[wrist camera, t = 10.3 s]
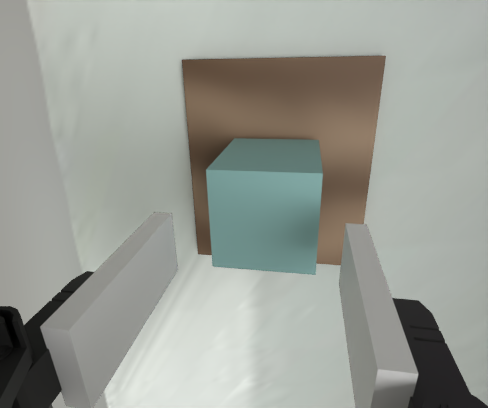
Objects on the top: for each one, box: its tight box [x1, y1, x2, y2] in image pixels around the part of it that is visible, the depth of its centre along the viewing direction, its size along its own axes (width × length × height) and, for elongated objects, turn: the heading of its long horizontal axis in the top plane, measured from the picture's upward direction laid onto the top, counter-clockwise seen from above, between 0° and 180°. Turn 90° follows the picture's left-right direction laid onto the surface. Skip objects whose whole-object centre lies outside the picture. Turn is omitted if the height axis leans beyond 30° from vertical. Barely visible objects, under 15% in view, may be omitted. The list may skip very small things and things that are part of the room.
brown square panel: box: [182, 56, 386, 265], centre depth 20 cm, size 14×12×8 cm
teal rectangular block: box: [206, 138, 323, 275], centre depth 19 cm, size 5×5×7 cm
